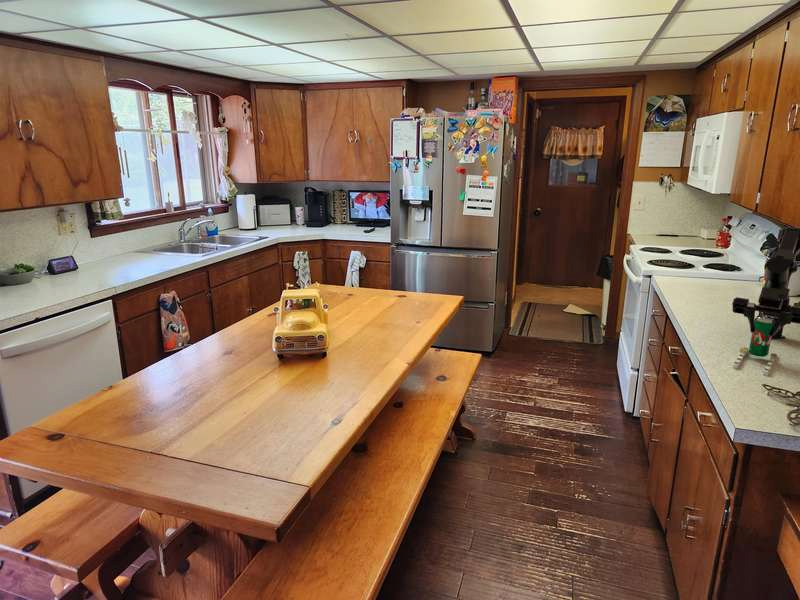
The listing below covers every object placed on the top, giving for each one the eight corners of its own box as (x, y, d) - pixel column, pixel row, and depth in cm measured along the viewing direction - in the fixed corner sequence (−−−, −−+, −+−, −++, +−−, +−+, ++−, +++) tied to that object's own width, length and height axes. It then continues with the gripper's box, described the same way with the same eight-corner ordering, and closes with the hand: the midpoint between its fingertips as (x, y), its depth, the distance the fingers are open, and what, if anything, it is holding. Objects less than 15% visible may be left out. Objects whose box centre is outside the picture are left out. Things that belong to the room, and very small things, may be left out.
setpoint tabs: (740, 350, 167) (741, 347, 166) (776, 358, 161) (777, 355, 160) (739, 352, 165) (739, 349, 165) (775, 359, 159) (776, 356, 159)
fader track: (744, 349, 171) (745, 345, 170) (776, 356, 165) (777, 351, 165) (732, 368, 156) (733, 363, 156) (767, 375, 151) (768, 371, 150)
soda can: (762, 351, 165) (769, 314, 162) (771, 357, 160) (779, 320, 157) (745, 350, 165) (752, 314, 162) (753, 357, 161) (761, 319, 157)
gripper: (739, 272, 165) (725, 314, 160) (813, 281, 153) (801, 327, 148) (739, 291, 173) (726, 331, 168) (810, 301, 161) (798, 345, 156)
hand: (761, 333), depth 160 cm, fingers closed on soda can, 5 cm apart
